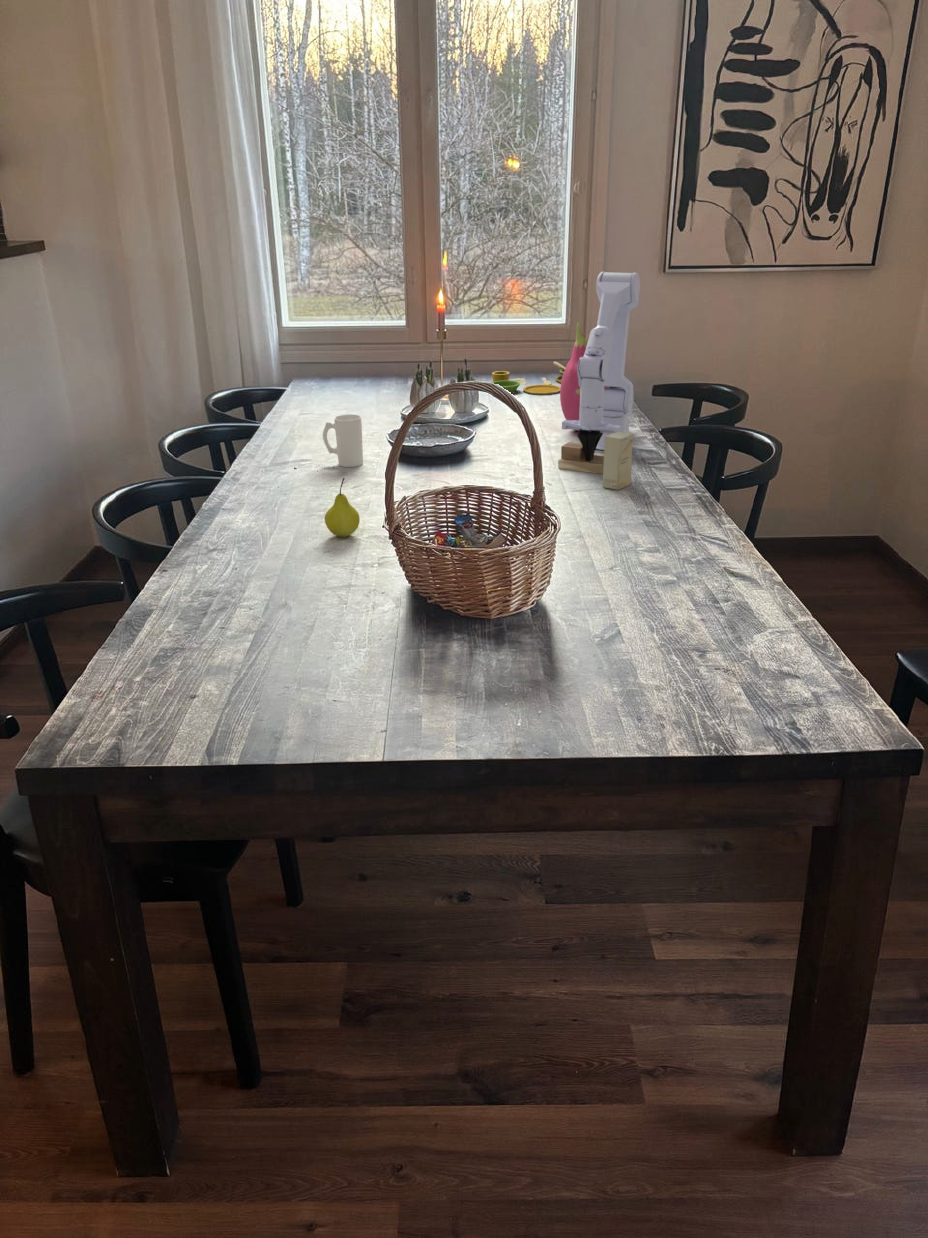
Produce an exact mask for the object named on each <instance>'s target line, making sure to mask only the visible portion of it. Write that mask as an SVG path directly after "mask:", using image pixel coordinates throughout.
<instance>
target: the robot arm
mask: <svg viewBox="0 0 928 1238" xmlns="http://www.w3.org/2000/svg"><path fill="white" fill-rule="evenodd" d="M595 285H596V286H595V288H596V294H597V295H596V296H597V298H598V302H599V303H600V304H599V311H598V316H597V323H596V327H594V328H592V329H591V330H590V332H589V335H588V339H587V341H588V343H587V347H586V350H585V354H584V357H580V359H579V362H578V369H577V373H578V379H579V387H580V413H579V420H566V419H564V420H562V421H561V430H573V431H577V430H579V431H578V433H577V438H578V440H579V441H580V442H579V443H581V444H582V447H583V450H584V453H585V459H586V461H592V460H593V457H594V454H596V450H601V451H604V443H605V436H607V435H610V434H612V433H615V432H617V431H619V432H625V433H630V432H629V431H630V418H629V416H628V415H629V414H630V413H631V412H632V410H633V406H634V401H635V400H634V396H635V395H634V384H633V382H632V381H630V380H629V379H628V378H627V377H626V376H625V369H626V368H625V365H626V359H627V358H626V357H627V347H628V346H627V345H628V336H629V326H630V317H631V313H632V310H633V309H636V308H638V305H639V301H640V292H641V277H640V275H639V274H638V272H635V271H634V272H611V271H610V272H606V271H600V273H599V274H598V275H597V279H596V284H595ZM605 386H610V388H604V387H605ZM612 387H613V388H612Z"/></svg>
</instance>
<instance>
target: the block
mask: <svg viewBox="0 0 928 1238" xmlns="http://www.w3.org/2000/svg"><path fill="white" fill-rule="evenodd" d="M560 454H561V455H560V459H563V460H571V461H578V462H586V463H588V462H587V461H586V459H585V453H584V450H583V447H582V444H581V442H576V441H568V442H566V443H564V444H563V445H562V446H561V452H560Z"/></svg>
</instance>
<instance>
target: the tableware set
mask: <svg viewBox="0 0 928 1238" xmlns="http://www.w3.org/2000/svg"><path fill="white" fill-rule="evenodd" d="M552 364H553V366H556V367H557V368H558V369H559V374H560V375H559V376H557V377H555V381H556V382H557V383H559V384H561V381H562V376H563V373H564V371H565V368H566V366H564V365H563V364H561V363H559V362H558V361H556V360H555V361H553V363H552ZM491 376H492V380H493V381H491V382H492V383H494V384H499V385H500V386H502V387H503V388H504V389H506V390H508V391H509V392H511V393H512V394H514V393H513V392H515V393H516V391H517V390H518V388H519V387H520V386H521V385H526V386H525V387H523V389H522V390H523V391H524V393H526V394H528V395H536V396H549V395H555V394H558V393H560V387H561V386H558V385H554V384H553V385H552V381H550V380H547V378H546V377H541V380H542V382H543V383H544V384H533V385H527V384H528V383H527V382H526V379H525V378H524V377H523V378H521V377H517V378H512V379H511V378H510V371H506V370H498V371H493V372H492V373H491ZM516 380H520V381H516Z"/></svg>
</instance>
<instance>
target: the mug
mask: <svg viewBox="0 0 928 1238" xmlns="http://www.w3.org/2000/svg"><path fill="white" fill-rule="evenodd" d="M333 420H334V423H332V422H331V421H326V422H325V425H324V428H323V432H322V440H323V442H324V445H325V447H326V449H327V451H328V453H329V454H334V455H337V459H338V460H337V461H338V466H339V467H344V468H356V467H359V466H362V465H363V464H364V455H363V453H364V452H363V451H364V450H363V425H362V416H361V415H359V414H353V413H352V414H351V413H350V414H340V415H336V416H334V417H333ZM330 429H334V431H335V439H336V441H335V442H336V447H333V446H331V445H332V444H330V443H329V442H330V441H329V439H328V432H329V430H330Z"/></svg>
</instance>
